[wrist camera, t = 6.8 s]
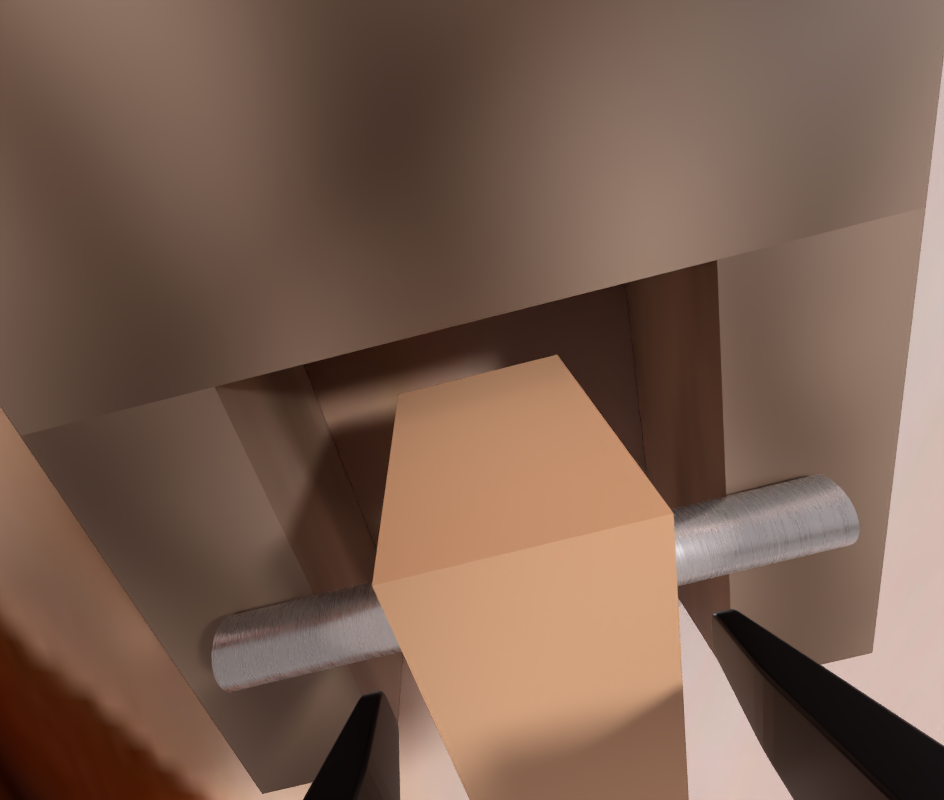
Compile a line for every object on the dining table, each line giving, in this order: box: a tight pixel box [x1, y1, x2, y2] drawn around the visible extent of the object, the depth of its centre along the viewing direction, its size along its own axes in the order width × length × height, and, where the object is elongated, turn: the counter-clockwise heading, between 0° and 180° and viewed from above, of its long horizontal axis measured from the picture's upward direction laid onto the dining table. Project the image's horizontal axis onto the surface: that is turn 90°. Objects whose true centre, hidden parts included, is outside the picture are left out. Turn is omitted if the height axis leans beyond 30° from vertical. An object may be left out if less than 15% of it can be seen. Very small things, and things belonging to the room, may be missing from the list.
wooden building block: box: [372, 355, 689, 800], centre depth 11 cm, size 4×8×6 cm, turn 14°
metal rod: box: [212, 475, 860, 692], centre depth 11 cm, size 14×2×2 cm, turn 103°
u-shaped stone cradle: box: [0, 0, 944, 794], centre depth 12 cm, size 18×20×5 cm
